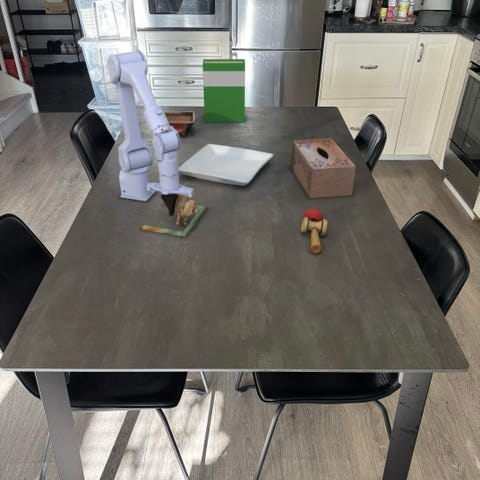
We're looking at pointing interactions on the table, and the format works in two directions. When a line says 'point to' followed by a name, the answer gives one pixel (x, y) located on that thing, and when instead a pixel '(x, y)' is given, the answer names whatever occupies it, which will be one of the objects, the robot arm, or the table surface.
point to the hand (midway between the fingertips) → (172, 214)
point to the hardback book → (224, 90)
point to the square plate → (225, 164)
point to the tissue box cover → (322, 168)
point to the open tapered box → (181, 121)
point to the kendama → (314, 227)
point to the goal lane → (175, 232)
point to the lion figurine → (185, 208)
